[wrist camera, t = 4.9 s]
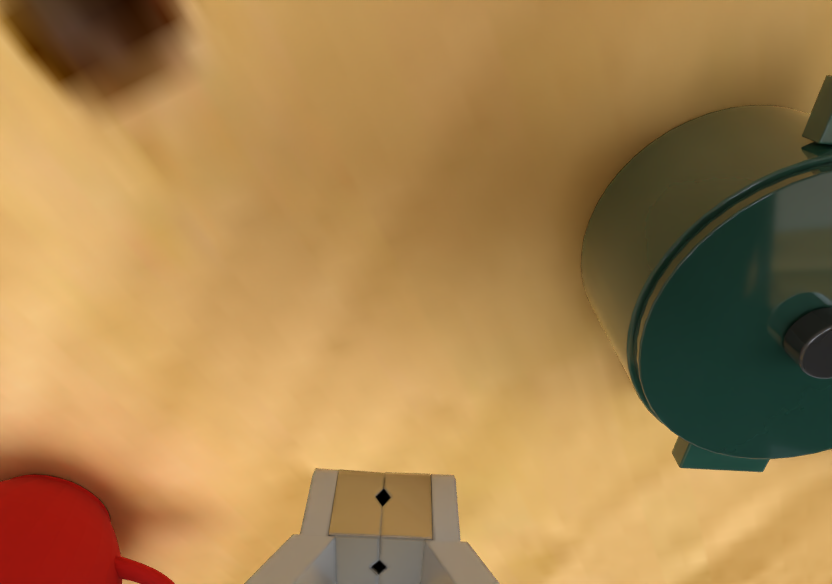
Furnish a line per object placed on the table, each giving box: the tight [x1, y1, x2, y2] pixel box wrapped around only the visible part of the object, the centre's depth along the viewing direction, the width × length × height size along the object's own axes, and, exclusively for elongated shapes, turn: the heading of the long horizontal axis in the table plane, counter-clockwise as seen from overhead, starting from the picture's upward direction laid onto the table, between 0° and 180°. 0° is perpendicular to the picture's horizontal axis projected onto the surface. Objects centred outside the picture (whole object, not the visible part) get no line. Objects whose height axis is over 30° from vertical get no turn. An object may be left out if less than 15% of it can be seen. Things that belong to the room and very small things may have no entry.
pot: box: [581, 75, 832, 472], centre depth 21 cm, size 15×12×8 cm
